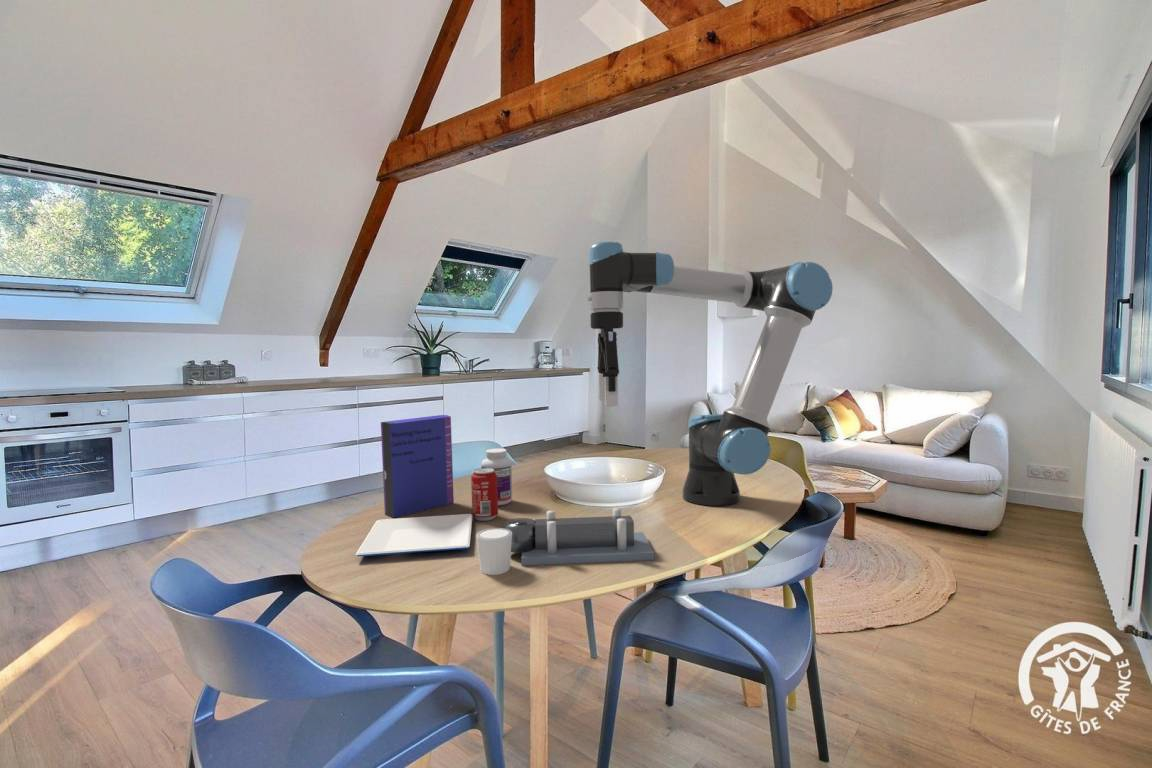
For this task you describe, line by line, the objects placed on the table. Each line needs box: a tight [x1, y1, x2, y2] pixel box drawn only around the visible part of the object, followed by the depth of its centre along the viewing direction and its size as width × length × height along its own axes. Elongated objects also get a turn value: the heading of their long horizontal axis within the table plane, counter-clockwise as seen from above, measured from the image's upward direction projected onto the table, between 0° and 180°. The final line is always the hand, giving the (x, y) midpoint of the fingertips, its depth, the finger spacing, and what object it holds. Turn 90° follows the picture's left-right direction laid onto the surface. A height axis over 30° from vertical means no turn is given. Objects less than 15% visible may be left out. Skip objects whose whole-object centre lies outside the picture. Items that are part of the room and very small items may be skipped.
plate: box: [355, 513, 473, 557], centre depth 124 cm, size 22×22×2 cm
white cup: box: [475, 527, 512, 576], centre depth 107 cm, size 7×7×7 cm
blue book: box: [380, 414, 455, 519], centre depth 147 cm, size 17×5×24 cm, turn 135°
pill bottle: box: [481, 448, 513, 507], centre depth 151 cm, size 8×8×14 cm
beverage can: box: [470, 467, 499, 522], centre depth 138 cm, size 6×6×12 cm
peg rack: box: [520, 507, 655, 566], centre depth 115 cm, size 26×12×8 cm, turn 94°
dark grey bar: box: [504, 515, 635, 554], centre depth 115 cm, size 26×6×5 cm, turn 94°
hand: (607, 403), depth 131 cm, fingers open, 13 cm apart
